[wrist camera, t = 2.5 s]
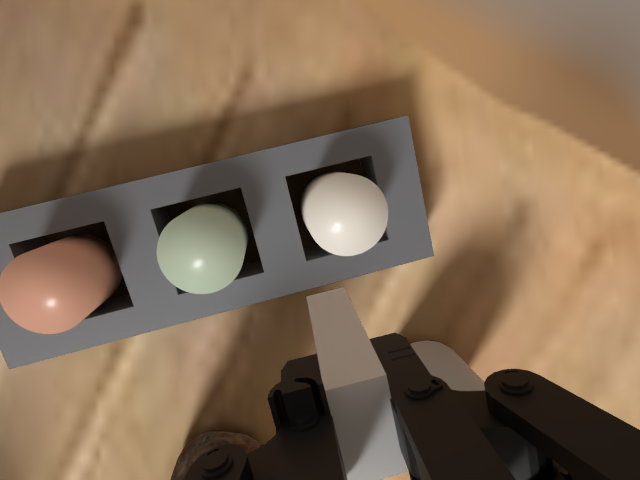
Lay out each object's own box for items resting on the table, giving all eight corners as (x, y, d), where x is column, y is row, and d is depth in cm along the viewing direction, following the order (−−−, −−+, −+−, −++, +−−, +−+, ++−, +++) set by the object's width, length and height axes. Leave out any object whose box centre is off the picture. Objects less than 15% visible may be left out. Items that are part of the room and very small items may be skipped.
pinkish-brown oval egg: (60, 312, 29) (17, 343, 24) (34, 244, 28) (-17, 263, 23) (132, 293, 30) (104, 321, 25) (108, 226, 29) (74, 240, 24)
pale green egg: (187, 279, 30) (171, 303, 25) (166, 212, 29) (145, 222, 24) (256, 261, 30) (253, 282, 25) (237, 194, 29) (230, 201, 24)
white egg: (309, 247, 31) (317, 265, 26) (292, 180, 30) (297, 185, 25) (374, 230, 31) (395, 244, 26) (360, 164, 30) (379, 165, 25)
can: (380, 336, 35) (435, 423, 24) (464, 335, 36) (558, 419, 25) (374, 417, 37) (423, 537, 25) (455, 414, 38) (540, 528, 26)
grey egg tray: (40, 343, 32) (9, 369, 28) (-12, 217, 30) (-54, 225, 26) (414, 244, 34) (434, 255, 30) (391, 120, 32) (408, 115, 28)
